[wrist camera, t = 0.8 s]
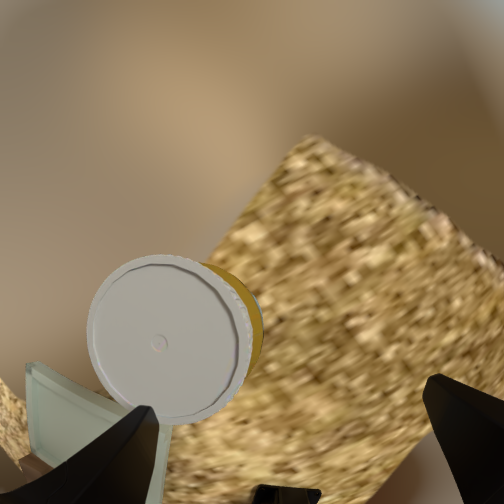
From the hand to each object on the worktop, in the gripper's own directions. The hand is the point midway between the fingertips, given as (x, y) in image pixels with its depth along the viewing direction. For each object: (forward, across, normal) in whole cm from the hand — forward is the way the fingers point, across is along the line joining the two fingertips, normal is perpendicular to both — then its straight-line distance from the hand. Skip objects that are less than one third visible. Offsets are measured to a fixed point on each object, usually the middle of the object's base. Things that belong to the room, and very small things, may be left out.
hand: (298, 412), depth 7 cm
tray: (+10, +18, +16) cm, 26 cm away
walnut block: (+7, +29, +24) cm, 38 cm away
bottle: (+16, +4, +5) cm, 17 cm away
